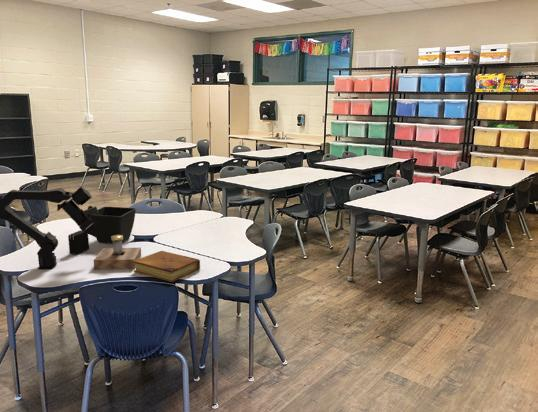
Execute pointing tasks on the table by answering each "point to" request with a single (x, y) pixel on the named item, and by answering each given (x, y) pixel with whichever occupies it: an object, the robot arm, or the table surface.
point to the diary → (166, 265)
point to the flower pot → (113, 223)
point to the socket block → (117, 259)
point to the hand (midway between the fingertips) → (98, 236)
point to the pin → (117, 244)
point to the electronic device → (78, 242)
